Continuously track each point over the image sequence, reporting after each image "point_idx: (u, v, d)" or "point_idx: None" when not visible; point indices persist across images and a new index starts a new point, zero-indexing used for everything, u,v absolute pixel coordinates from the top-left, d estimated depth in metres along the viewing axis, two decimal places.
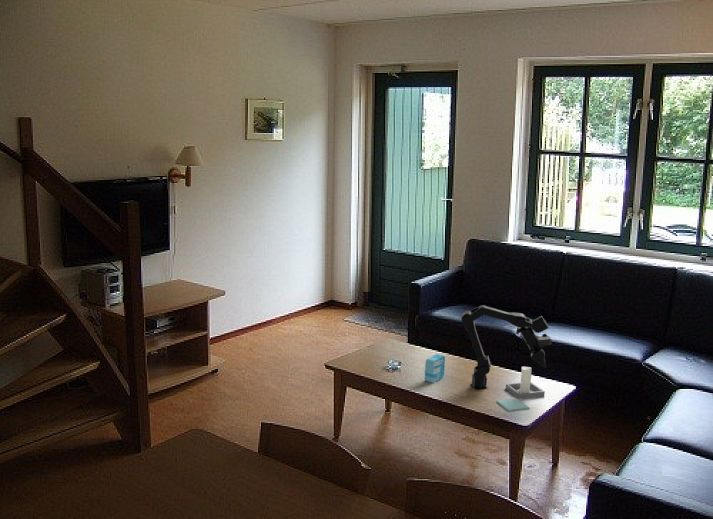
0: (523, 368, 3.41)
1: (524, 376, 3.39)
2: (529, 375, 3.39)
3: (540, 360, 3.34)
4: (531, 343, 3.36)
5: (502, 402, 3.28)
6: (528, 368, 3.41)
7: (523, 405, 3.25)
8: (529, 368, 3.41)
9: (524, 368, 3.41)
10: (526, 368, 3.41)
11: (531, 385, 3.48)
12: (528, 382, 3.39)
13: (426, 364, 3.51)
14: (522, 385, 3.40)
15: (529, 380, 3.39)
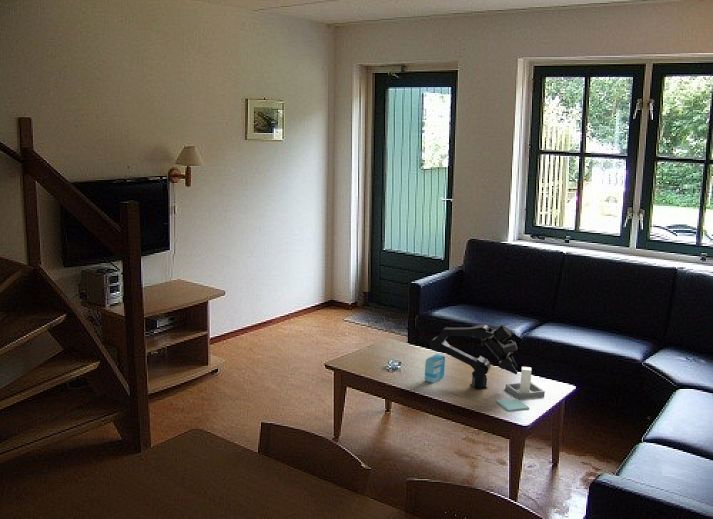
0: (523, 368, 3.41)
1: (524, 376, 3.39)
2: (529, 375, 3.39)
3: (509, 367, 3.36)
4: (498, 352, 3.39)
5: (502, 402, 3.28)
6: (528, 368, 3.41)
7: (523, 405, 3.25)
8: (529, 368, 3.41)
9: (524, 368, 3.41)
10: (526, 368, 3.41)
11: (531, 385, 3.48)
12: (528, 382, 3.39)
13: (426, 364, 3.51)
14: (522, 385, 3.40)
15: (529, 380, 3.39)
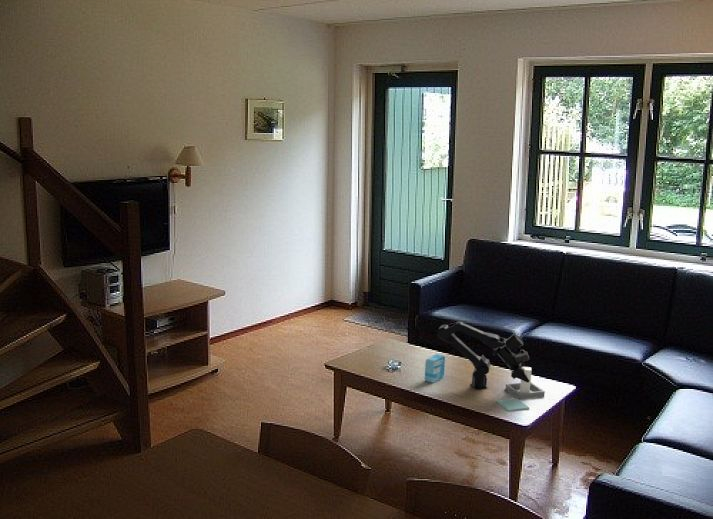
0: None
1: None
2: (529, 375, 3.39)
3: (521, 375, 3.38)
4: (510, 362, 3.39)
5: (502, 402, 3.28)
6: (528, 368, 3.41)
7: (523, 405, 3.25)
8: (529, 368, 3.41)
9: (524, 368, 3.41)
10: (526, 368, 3.41)
11: (531, 385, 3.48)
12: (528, 382, 3.39)
13: (426, 364, 3.51)
14: (522, 385, 3.40)
15: (529, 380, 3.39)
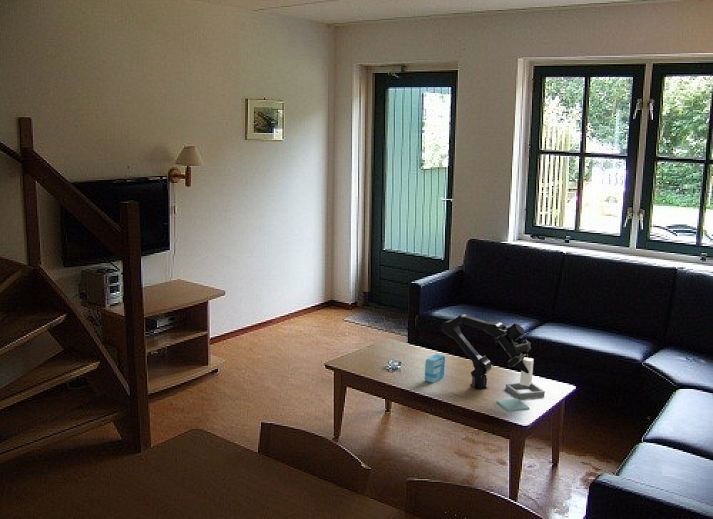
0: (524, 358, 3.33)
1: None
2: (529, 366, 3.31)
3: (520, 366, 3.31)
4: (509, 351, 3.34)
5: (502, 402, 3.28)
6: (529, 359, 3.33)
7: (523, 405, 3.25)
8: (530, 359, 3.33)
9: (525, 358, 3.33)
10: (527, 359, 3.33)
11: (531, 385, 3.48)
12: (528, 373, 3.32)
13: (426, 364, 3.51)
14: (522, 376, 3.33)
15: (529, 371, 3.31)
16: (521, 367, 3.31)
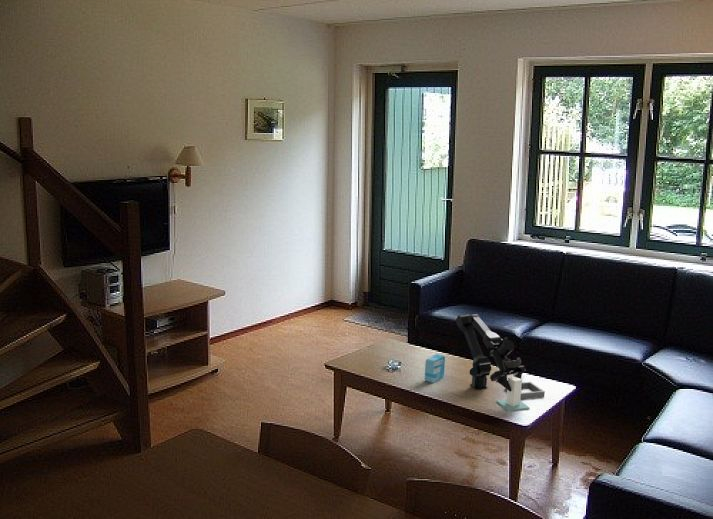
0: (512, 377, 3.25)
1: (510, 386, 3.24)
2: (513, 385, 3.22)
3: (503, 382, 3.24)
4: (498, 366, 3.29)
5: (502, 402, 3.28)
6: (516, 379, 3.24)
7: (523, 405, 3.25)
8: (518, 379, 3.23)
9: (513, 378, 3.25)
10: (515, 378, 3.24)
11: (531, 385, 3.48)
12: (512, 393, 3.23)
13: (426, 364, 3.51)
14: (508, 395, 3.26)
15: (513, 391, 3.23)
16: (504, 384, 3.24)
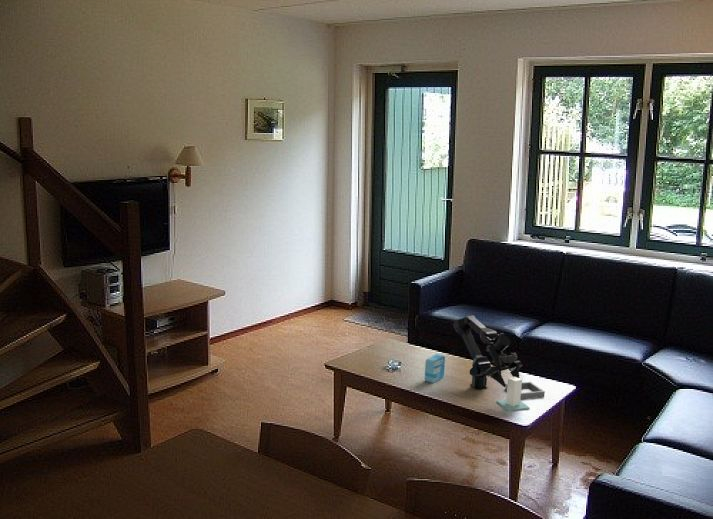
0: (512, 377, 3.25)
1: (510, 386, 3.24)
2: (513, 385, 3.22)
3: (498, 378, 3.25)
4: (495, 361, 3.31)
5: (502, 402, 3.28)
6: (516, 379, 3.24)
7: (523, 405, 3.25)
8: (518, 379, 3.23)
9: (513, 378, 3.25)
10: (515, 378, 3.24)
11: (531, 385, 3.48)
12: (512, 393, 3.23)
13: (426, 364, 3.51)
14: (508, 395, 3.26)
15: (513, 391, 3.23)
16: (498, 379, 3.25)
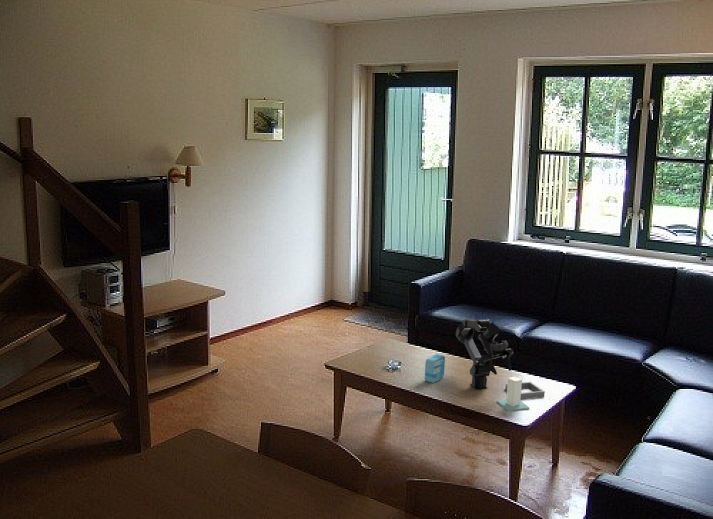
0: (512, 377, 3.25)
1: (510, 386, 3.24)
2: (513, 385, 3.22)
3: (489, 366, 3.30)
4: (486, 349, 3.35)
5: (502, 402, 3.28)
6: (516, 379, 3.24)
7: (523, 405, 3.25)
8: (518, 379, 3.23)
9: (513, 378, 3.25)
10: (515, 378, 3.24)
11: (531, 385, 3.48)
12: (512, 393, 3.23)
13: (426, 364, 3.51)
14: (508, 395, 3.26)
15: (513, 391, 3.23)
16: (490, 367, 3.30)
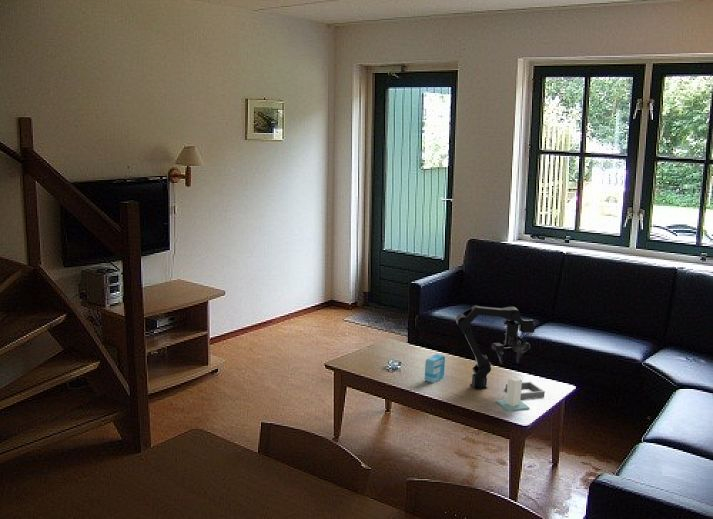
0: (512, 377, 3.25)
1: (510, 386, 3.24)
2: (513, 385, 3.22)
3: (499, 354, 3.44)
4: (506, 337, 3.43)
5: (502, 402, 3.28)
6: (516, 379, 3.24)
7: (523, 405, 3.25)
8: (518, 379, 3.23)
9: (513, 378, 3.25)
10: (515, 378, 3.24)
11: (531, 385, 3.48)
12: (512, 393, 3.23)
13: (426, 364, 3.51)
14: (508, 395, 3.26)
15: (513, 391, 3.23)
16: (499, 355, 3.44)
